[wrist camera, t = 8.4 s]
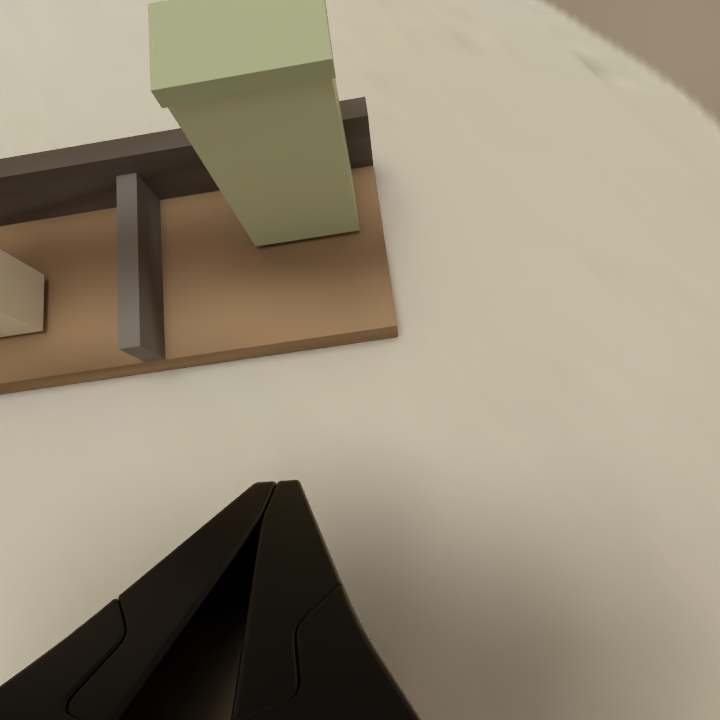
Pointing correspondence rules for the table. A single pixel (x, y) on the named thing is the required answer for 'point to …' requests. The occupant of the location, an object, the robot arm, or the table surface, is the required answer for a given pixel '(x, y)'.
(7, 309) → the beige rectangular block
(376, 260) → the brown wooden rack
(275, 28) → the pale green tall block
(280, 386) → the table surface
